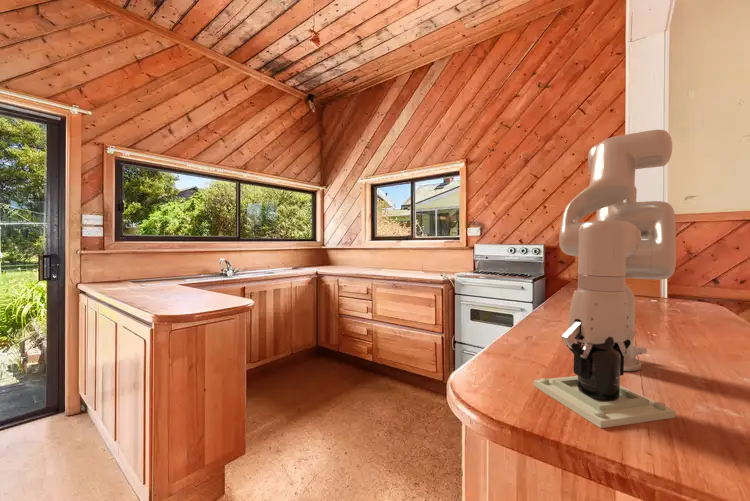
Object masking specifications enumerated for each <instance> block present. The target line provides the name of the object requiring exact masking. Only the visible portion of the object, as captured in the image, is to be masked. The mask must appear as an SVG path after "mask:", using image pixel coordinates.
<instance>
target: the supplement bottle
mask: <svg viewBox="0 0 750 501" xmlns="http://www.w3.org/2000/svg"><path fill="white" fill-rule="evenodd" d="M584 345H585V344H582V345H581V349H583V347H584ZM614 345H615V343H614V339H613V337H608V338H607V339H606V340H605V343H603V344H598V345H593V346H592V348H591V350H590V352H589V354H588V357H587V358H590V378H589V379H585V378H583V377H581V376H579V375H577V376H578V390H579V391H580V392H581V393H583V394H585V395H586V396H588V397H590V398H593V399H597V400H601V401H616V400H618V399H619V396H620V386H621V376H620V364H621V356H620V353H619V352H618V351H617V350H616V349H615V348H613V346H614Z"/></svg>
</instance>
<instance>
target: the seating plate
mask: <svg viewBox="0 0 750 501" xmlns="http://www.w3.org/2000/svg"><path fill="white" fill-rule="evenodd" d="M533 387H535V388H536V389H538V390H540V391H541V392H542V393H544V394H546V395H547V396H549V397H551V398H552V399H553V400H556V401H557V402H559V403H560V404H562V405H563V406H565V407H566V408H568V409H570V410H571V411H573V412H574V413H576V414H577V415H579V416H580V417H582V418H583V419H586V420H587V421H588V422H590V423H592V424H593V425H595V426H597V427H598V428H600V429H604V428H611V427H619V426H626V425H633V424H634V425H635V424H639V423H640V424H641V423H646V422H653V421H661V420H666V419H669V420H670V419H675V418H676V410H674V409H673V408H670V407H668V406H666V404H664V403H662V402H659V401H655V400H652V399H650V398H649V397H647V396H644V395H641V394H640V393H637V392H635V391H633V390H631V389H629V388H627V387H625V386H622V385H620V396H619V399H618V400H616V401H601V400H597V399H593V398H590V397H588V396H586V395H585V394H583V393H581V392H580V391H579V390H578V375H573V376H572V375H571V376H563V377H562V376H560V377H551V378H544V377H540V378H539V379H534V380H533Z"/></svg>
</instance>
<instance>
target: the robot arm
mask: <svg viewBox="0 0 750 501" xmlns="http://www.w3.org/2000/svg"><path fill="white" fill-rule="evenodd" d="M672 154H673V141H672V137H671V135H670V133H669V132H668V131H667V130H664V129H653V130H652V129H651V130H646V131H639V132H634V133H627V134H621V135H616V136H611V137H608V138H605V139H603V140H602V141H601V142H598V143H597V144H595V145H594V146H592V147H591V148H590V149H589V151H588V155H587V164H588V169H589V173H590V178H589V185H588V186H587V187H586V188H584V189H583V190H581V192H579V193H578V194H576V195H575V196H574V198H572V200H570V202H569V203H568V204H567V205H566V207H565V208H564V211H563V214H562V218H561V222H560V224H561V225H560V227H559V228H560V229H559V235H558V244H559V248H560V250H561V251H562V252H563V253H564V254H565V255H567V256H572V257H573V256H574V257H578V260H577V263H578V265H577V289H575V290H574V291H573V293H572V294H573V295H572V297H571V301H570V306H569V307H570V308H569V313H568V314H569V315H568V325H567V326H568V327H567V328H568V329H567V330H566V331H565V332H564V333H563V334H562V335H561V339H562V341H563V342H564V344H566V347H567V348H568V349H569V350H570V353H571V354H573V373H574V374H575V375H576V376H578V375H579V376H581V377H583V378H585V379H589V378H590V358H587V357H588V354H589V352H590V350H591V348H592V346H593V345H598V344H603V343H605V340H606V339H607V338H608V337H613V339H614V343H615V345H614V346H613V348H615V349H616V350H617V351H618V352H619V353H620V356H621V364H620V377H621V376H624V373H625V372H635V371H639V370H641V369H642V363H641V361H640V360H639V359H637V356H638V355H645V354H647V353H648V350H647V348H646V347H645V346H643V345H642V346H636V345H634V344H635V343H634V342H635V336H636V332H635V318H636V317H635V312H636V310H635V308H636V297H635V294H634V292H633V290H632V289H631V288H630V287H629V286H628V285H627V284H626V279H639V280H659V281H660V280H667V279H669V278H671V277H672V276H673V275H674V273H675V270H676V267H677V246H676V245H677V238H676V237H677V236H676V230H677V229H676V227H677V226H676V223H677V222H676V216H675V210H674V208H673V206H672V205H671V203H668V202H666V201H661V200H659V201H657V200H653V201H652V200H650V201H637V191H638V190H637V187H636V183H635V182H636V170H640V169H641V170H643V169H650V168H651V169H652V168H660V167H665V166H666V165H667V164H668V163H669V161H670V160H671V157H672ZM593 212H596V214H595V215H596V216H595V220H590V221H581V220H582V219H583V218H584V217H586V216H588V215H589V214H592V213H593ZM580 221H581V222H580ZM582 344H585V345H584V347H583V349H581V345H582Z"/></svg>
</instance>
